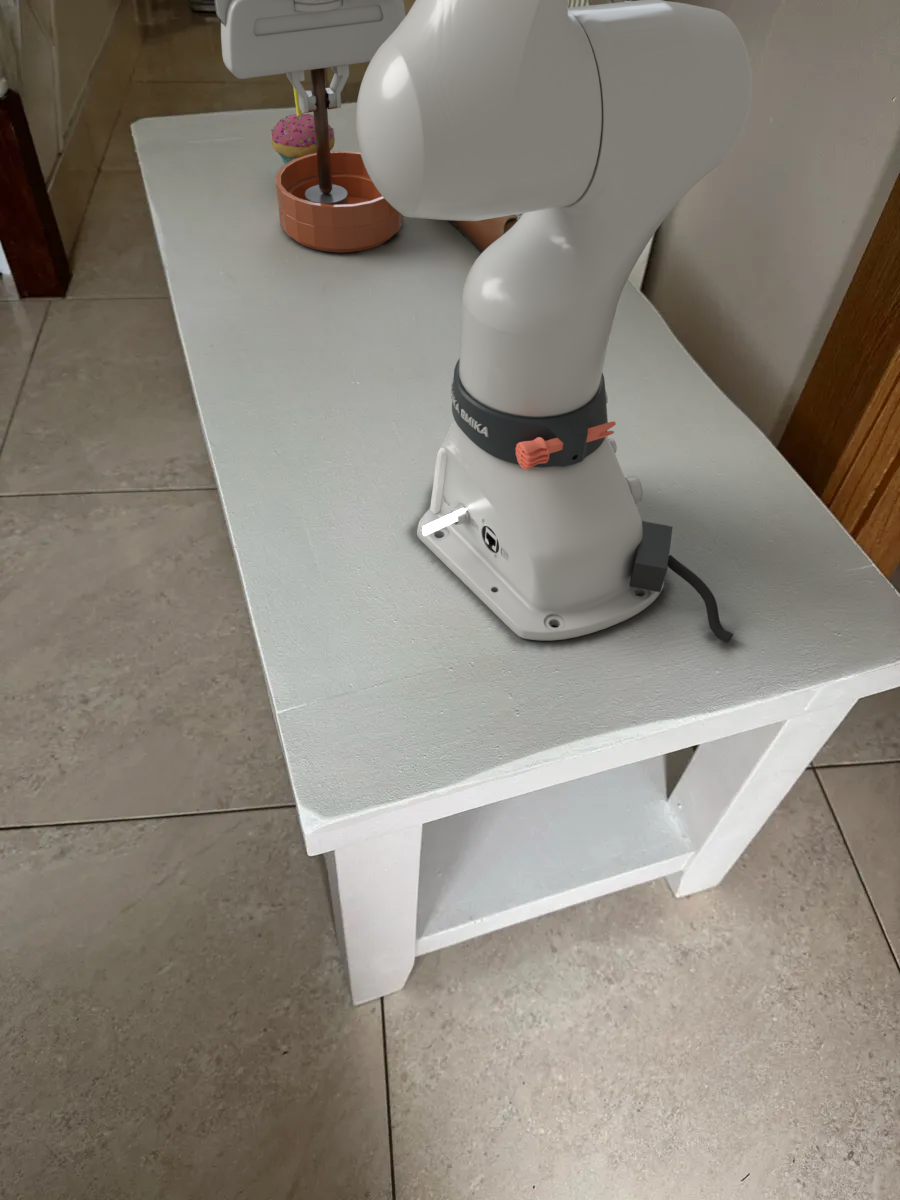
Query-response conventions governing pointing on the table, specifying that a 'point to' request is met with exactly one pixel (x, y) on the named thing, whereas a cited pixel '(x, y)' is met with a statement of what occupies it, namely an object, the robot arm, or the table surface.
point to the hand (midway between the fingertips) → (320, 108)
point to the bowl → (334, 206)
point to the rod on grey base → (323, 148)
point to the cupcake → (296, 135)
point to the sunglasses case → (485, 230)
